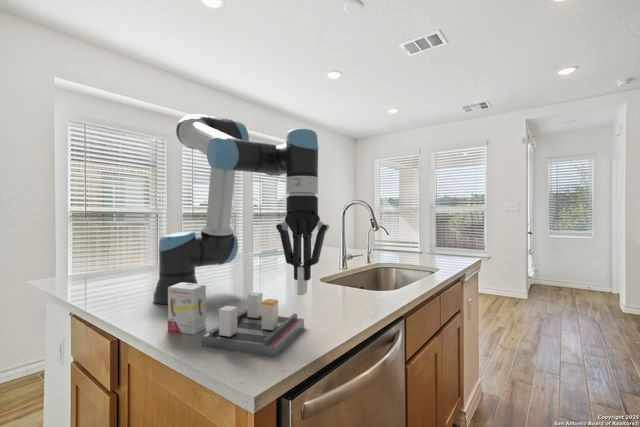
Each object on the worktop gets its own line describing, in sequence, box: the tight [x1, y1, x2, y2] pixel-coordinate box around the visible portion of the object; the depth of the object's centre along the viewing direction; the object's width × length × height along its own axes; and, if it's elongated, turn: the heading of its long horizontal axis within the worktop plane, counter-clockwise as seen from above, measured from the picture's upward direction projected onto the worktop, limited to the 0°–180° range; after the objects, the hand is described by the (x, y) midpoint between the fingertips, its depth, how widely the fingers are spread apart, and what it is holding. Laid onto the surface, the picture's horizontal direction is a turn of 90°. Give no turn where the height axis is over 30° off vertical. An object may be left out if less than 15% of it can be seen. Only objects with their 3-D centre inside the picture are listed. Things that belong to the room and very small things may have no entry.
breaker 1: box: [218, 305, 238, 337], centre depth 75 cm, size 3×3×6 cm
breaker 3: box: [262, 298, 279, 330], centre depth 79 cm, size 3×3×7 cm
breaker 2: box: [246, 291, 264, 318], centre depth 87 cm, size 3×3×6 cm
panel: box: [201, 309, 305, 358], centre depth 80 cm, size 19×18×4 cm
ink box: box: [167, 282, 207, 335], centre depth 84 cm, size 9×5×12 cm, turn 72°
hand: (302, 293), depth 76 cm, fingers closed
